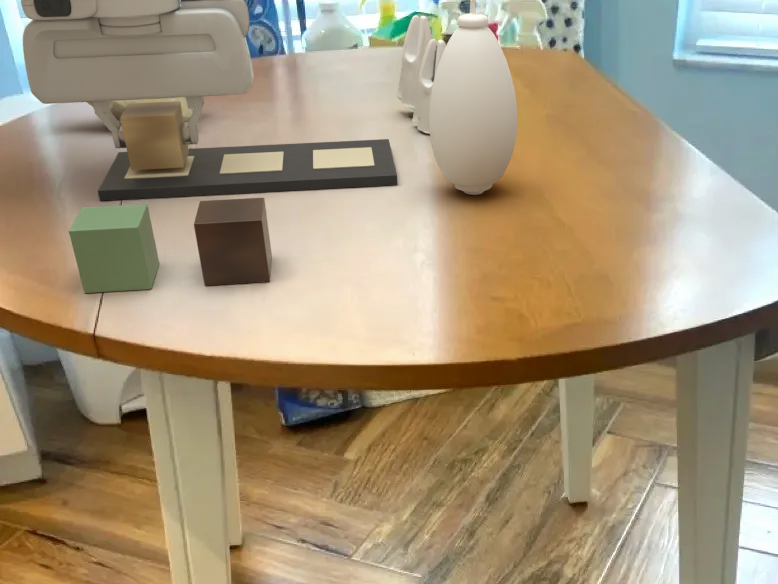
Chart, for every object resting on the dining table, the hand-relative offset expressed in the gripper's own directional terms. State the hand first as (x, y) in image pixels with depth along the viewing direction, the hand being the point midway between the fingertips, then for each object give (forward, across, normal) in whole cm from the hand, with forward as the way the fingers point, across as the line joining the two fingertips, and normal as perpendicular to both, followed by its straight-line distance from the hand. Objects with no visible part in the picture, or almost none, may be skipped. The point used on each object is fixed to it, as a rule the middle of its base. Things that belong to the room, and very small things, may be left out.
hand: (157, 144), depth 94 cm
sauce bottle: (+4, -30, +9) cm, 31 cm away
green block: (+3, 0, +25) cm, 25 cm away
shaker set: (+4, -28, -15) cm, 32 cm away
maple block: (+2, 0, 0) cm, 2 cm away
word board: (+3, -9, 0) cm, 9 cm away
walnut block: (+3, -9, +25) cm, 26 cm away
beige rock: (+3, +6, -19) cm, 20 cm away
